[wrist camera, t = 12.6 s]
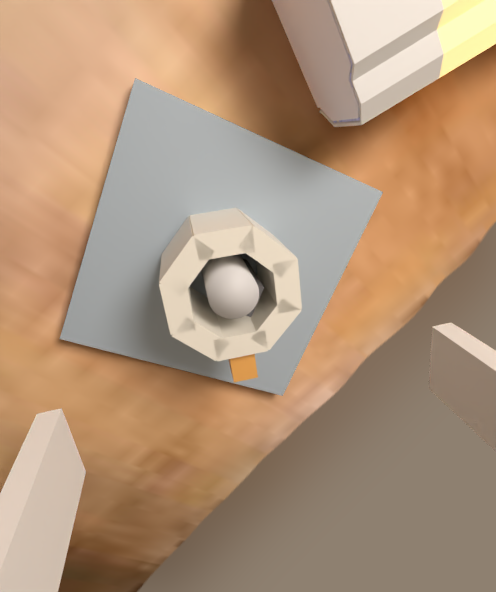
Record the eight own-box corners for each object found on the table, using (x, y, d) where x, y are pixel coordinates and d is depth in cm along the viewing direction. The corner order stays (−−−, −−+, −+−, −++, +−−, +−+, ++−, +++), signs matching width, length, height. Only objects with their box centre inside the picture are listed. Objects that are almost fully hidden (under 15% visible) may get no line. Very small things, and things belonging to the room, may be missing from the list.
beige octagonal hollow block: (182, 351, 31) (185, 397, 25) (153, 221, 27) (149, 242, 21) (283, 330, 31) (307, 371, 26) (270, 202, 28) (294, 217, 22)
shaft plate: (63, 331, 30) (32, 386, 23) (136, 80, 25) (123, 59, 18) (279, 387, 35) (304, 445, 28) (375, 190, 30) (432, 204, 23)
